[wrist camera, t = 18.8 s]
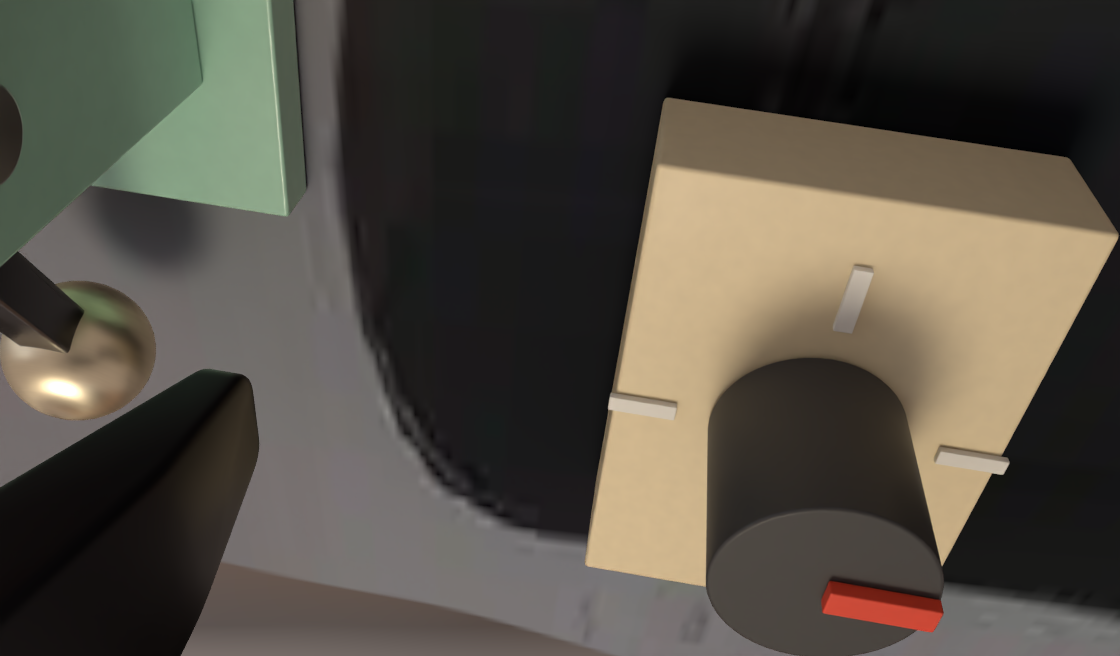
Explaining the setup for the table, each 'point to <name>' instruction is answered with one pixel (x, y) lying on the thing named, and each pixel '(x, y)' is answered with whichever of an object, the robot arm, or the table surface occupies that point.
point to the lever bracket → (147, 106)
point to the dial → (818, 513)
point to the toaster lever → (71, 343)
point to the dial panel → (833, 303)
